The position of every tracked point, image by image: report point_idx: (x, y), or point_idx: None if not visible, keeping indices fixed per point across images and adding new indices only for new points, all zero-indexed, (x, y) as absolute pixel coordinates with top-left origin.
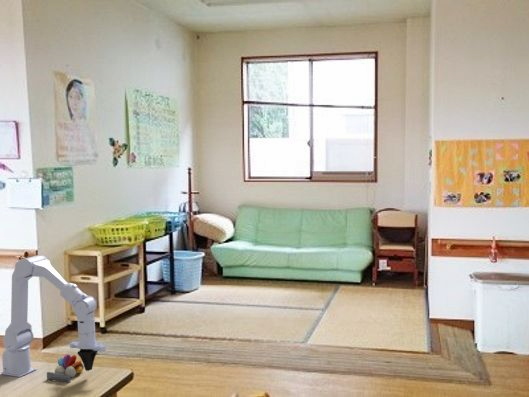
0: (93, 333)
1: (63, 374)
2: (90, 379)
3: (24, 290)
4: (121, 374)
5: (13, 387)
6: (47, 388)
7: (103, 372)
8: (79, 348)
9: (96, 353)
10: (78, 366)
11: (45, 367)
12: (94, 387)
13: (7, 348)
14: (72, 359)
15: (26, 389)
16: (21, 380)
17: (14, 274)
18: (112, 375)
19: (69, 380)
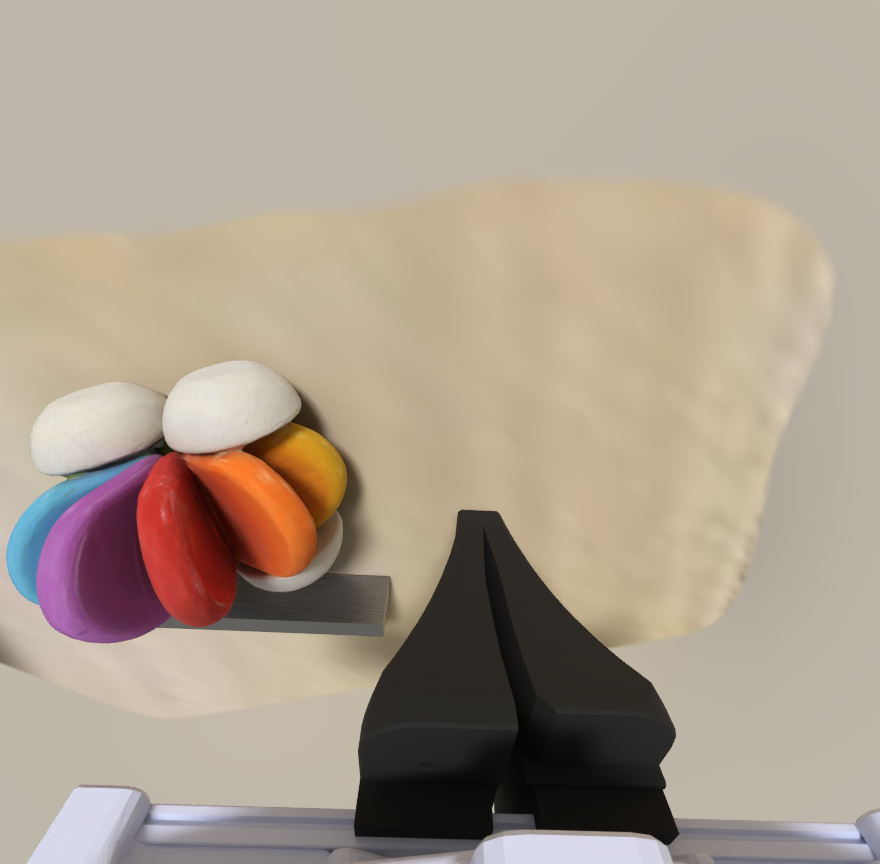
0: None
1: (316, 625)
2: (504, 505)
3: None
4: (756, 337)
5: (125, 685)
6: (325, 658)
7: (527, 341)
8: (314, 826)
9: (611, 656)
10: (270, 461)
11: None
12: (618, 595)
13: None
14: (226, 601)
15: (223, 686)
16: (39, 621)
17: None
18: (664, 385)
19: (387, 596)
